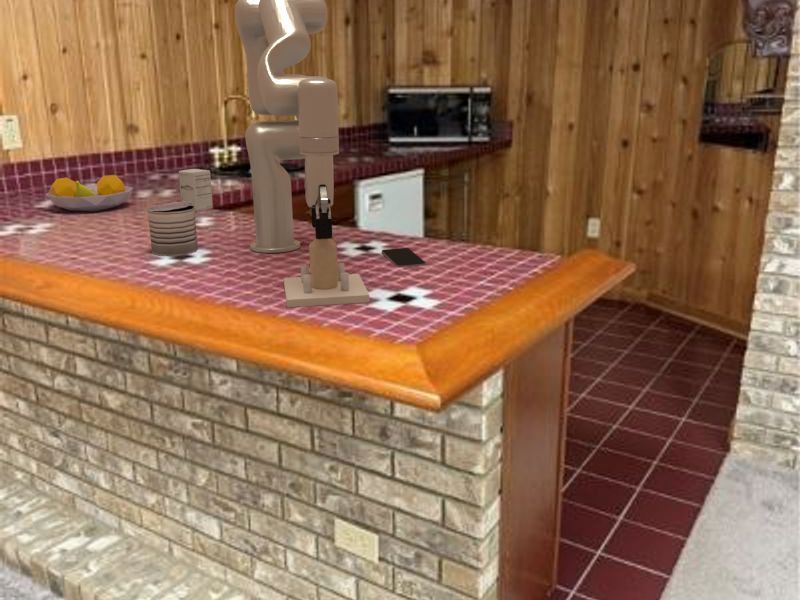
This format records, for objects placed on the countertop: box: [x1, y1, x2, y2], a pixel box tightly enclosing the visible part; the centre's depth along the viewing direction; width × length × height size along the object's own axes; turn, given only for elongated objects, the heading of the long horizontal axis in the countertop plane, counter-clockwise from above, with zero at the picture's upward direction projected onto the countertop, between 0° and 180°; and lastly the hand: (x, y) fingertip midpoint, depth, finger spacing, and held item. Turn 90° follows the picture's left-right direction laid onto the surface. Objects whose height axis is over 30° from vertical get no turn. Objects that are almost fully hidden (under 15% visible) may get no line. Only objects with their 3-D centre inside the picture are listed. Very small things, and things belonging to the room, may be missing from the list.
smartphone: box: [381, 247, 427, 268], centre depth 179 cm, size 7×1×15 cm
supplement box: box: [178, 168, 214, 212], centre depth 243 cm, size 7×7×13 cm
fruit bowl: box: [45, 174, 134, 212], centre depth 245 cm, size 28×27×11 cm
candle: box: [308, 238, 338, 289], centre depth 150 cm, size 6×6×10 cm
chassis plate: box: [283, 262, 371, 308], centre depth 150 cm, size 16×16×5 cm
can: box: [146, 201, 199, 257], centre depth 186 cm, size 11×11×12 cm
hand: (321, 232), depth 148 cm, fingers open, 9 cm apart
